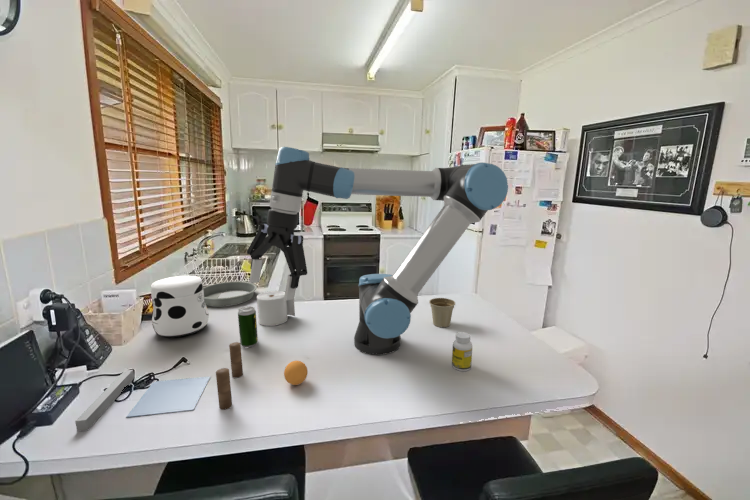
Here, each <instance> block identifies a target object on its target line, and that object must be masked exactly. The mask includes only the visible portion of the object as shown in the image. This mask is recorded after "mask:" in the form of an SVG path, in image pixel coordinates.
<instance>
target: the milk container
mask: <svg viewBox="0 0 750 500" xmlns="http://www.w3.org/2000/svg"><path fill="white" fill-rule="evenodd" d="M203 288H204V284H203V280H202V277H200V276H196V275H178V276H170V277H166V278H161V279H159V280H156V281H154V282H152V283H151V285H150V294H151V301H152V308H153V312H152V318H151V325H152V329H153V330H154V332H155V334H156V335H158V336H161V337H164V338H177V337H184V336H188V335H192V334H194V333H197V332H199V331H201V330H203V329H204V328H205V327H206V326H207V324H208V323H209V315H210V313H209V309H208V306H207V305H206V304H205V301H204V291H203Z"/></svg>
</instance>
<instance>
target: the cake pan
mask: <svg viewBox="0 0 750 500" xmlns="http://www.w3.org/2000/svg"><path fill="white" fill-rule="evenodd" d="M203 291H204V301H205V304H206V307H217V308H218V307H230V306H235V305H238V304H243V303H246V302H248V301H250V300H251V299H253V298H254V294H255V291H257V285H256V283H249V282H247V281H225V282H219V283H214V284H211V285H206V286H203ZM233 291H238V292H239V291H240V292H247V293H244V294H241V295H236V296H228V297H220V296H221V294H223V293H227V292H233Z"/></svg>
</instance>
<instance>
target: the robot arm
mask: <svg viewBox="0 0 750 500" xmlns="http://www.w3.org/2000/svg"><path fill="white" fill-rule="evenodd" d="M274 165H275V166H274V171H273V172H274V173H273V179H272V185H271V186H272V187H271V192H270V193H271V194H270V197H269V198H270V200H269V207H270V209H268V211H267V217H266V223H260V224H259V225H258V230H257V232H256V234H255V236H254V238H253V239H252V241H251V243H250V245H249V246H248V248H247V251H246V254H247V255H249V256H250V258H251V261H250V276H249V280H248V281H249V283H253V284H257V283H260V279H261V273H262V269H263V268H262V267H263V261H264V260H263V256H264V255H265V254H266V253H267V252H268V251H269V250H270V249H271V247H277V248H278V249H280V251H281V252H282V253H283V255H284V258H285V261H286V264H287V267H288V269H289V272H290V274H288V275H287V280H286V286H285V290H284V291H285V297H284V300H286V301H287V300H292V299H294V300H295V296H296V291H297V289H298V287H299V283H300V277H301V276H307V275H308V269H307V268H308V267H307V263H306V262H307V261H306V257H305V249H304V235H301V234H300V235H297V234H295V230H296V229H297V227H298V222H299V218H300V215H299V214H298V213H300V212H301V205H302V199H303V195H304V194H303V193H304V192H309V193H315V194H318V195H323V196H328V197H331V198H332V197H333V198H336V199H342V200H349V199H350V198H351V197H352V195H358V196H359V195H360V196H361V195H363V196H389V197H390V196H391V197H392V196H394V197H395V196H397V197H399V196H400V197H422V198H423V197H427V198H428V197H430V198H431V199H432V201H442V202H443V201H444V202H443V203H444V204H443V206H442V208H441V209H440V211H439V212H438V213H437V214H436V215H435V217H434V218H433V220H432V221H431V223H430V224H429V225H428V227H427V228H426V230H425V231H424V232H423V233H422V235H421V236H420V238H419V239H418V240H417V241H416V243H415V244H414V245H413V247H412V249H411V250H410V251H409V253H408V254H407V255H406V257H405V258H404V259H403V260H402V262H401V263H400V265H399V266H398V267H397V268H396V270H395V271H394V272H393V274H388V273H371V274H364V275H362V276H360V277H359V280H358V281H359V282H358V290H359V291H358V293H359V294H358V295H359V296H358V297H359V301H358V302H359V304H358V305H359V306H358V307H359V309H358V310H359V312H358V313H359V315H358V316H359V320H358V321H359V322H358V325H357V328H356V331H355V334H354V337H353V341H354V342H353V343H354V345H353V346H354V347H355V349H357V350H358V351H359V352H361V353H364V354H367V355H368V354H369V355H375V356H376V355H377V356H378V355H387V354H391V353H394V352H396V351H397V350H398V349H400V347H401V345H402V337H401V335H403V334H404V333H405V332H406V331H407V330H408V328H409V326H410V323H411V319H412V315H411V313H412V312H414V310H415V308H416V307H417V306H418V304H419V299H418V295H419V293H420V292H421V291H422V289H423V287H425V285H426V284H427V282H429V280H430V278H431V277H432V276H433V274H435V272H436V271H437V269H438V267H440V266H441V264H442V263H443V261H444V260H445V258H446V257H447V256H448V254H449V253H450V252H451V250H452V249H453V248H454V247H455V245H456V244H457V242H458V241H459V240H460V238H461V237H462V236H463V235H464V233H465V232H466V231H467V229H468V228H469V227H470V226H471V224H475V223H479V222H480V221H482V219H483V217H484V216H485V215H486V213H488V211H491V210H495V208H498V207H500V206H501V204H503V203H504V201H505V199H506V198H507V195H508V191H509V183H508V177H507V176H506V173H505V172H504V171H503V170H502V168H500V167H499V166H498V165H495V164H493V163H488V162H477V163H474V164H473V163H471V164H463V165H457V166H451V167H435V168H433V170H414V169H410V170H409V169H389V168H388V169H386V168H385V169H383V168H382V169H381V168H359V167H357V168H356V167H354V168H353V167H340V166H336V165H332V164H331V165H330V164H326V163H321V162H316V161H313V160H311V159H310V153H309V152H308V151H306V150H303V149H299V148H294V147H289V146H281V147H280V148H279V149H278V153H277V157H276V162H275V164H274Z"/></svg>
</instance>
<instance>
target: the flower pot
mask: <svg viewBox="0 0 750 500" xmlns="http://www.w3.org/2000/svg"><path fill="white" fill-rule="evenodd" d="M428 302H429V305H430V308H431V316H432V324H433V326H435V327H438V328H448V327H450V326H451V322H452V317H453V316H452V315H453V310H454V308H455V306H456V301H455V300H453V299H451V298H447V297H434V298H432V299H430V300H428Z"/></svg>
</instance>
